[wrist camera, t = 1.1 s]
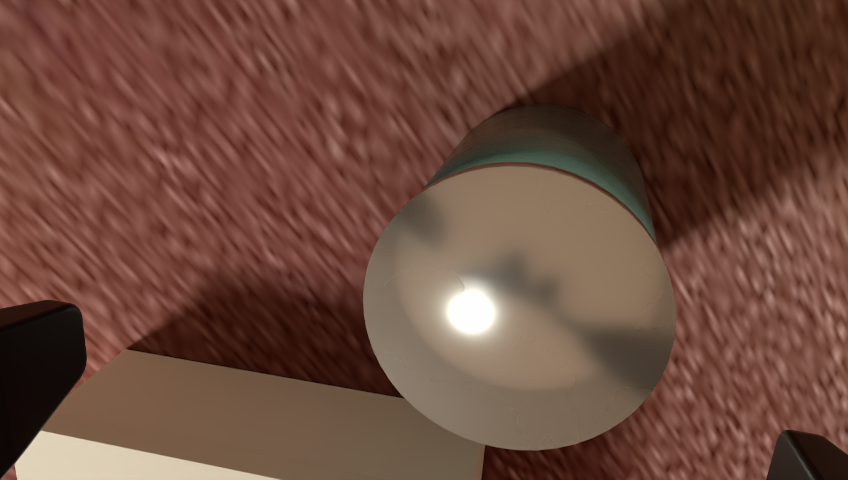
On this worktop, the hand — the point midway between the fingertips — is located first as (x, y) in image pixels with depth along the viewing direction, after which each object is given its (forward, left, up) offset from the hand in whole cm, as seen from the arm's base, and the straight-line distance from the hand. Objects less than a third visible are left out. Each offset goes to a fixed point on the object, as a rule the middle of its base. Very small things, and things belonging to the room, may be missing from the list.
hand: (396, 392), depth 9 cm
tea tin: (-1, +1, -12) cm, 12 cm away
